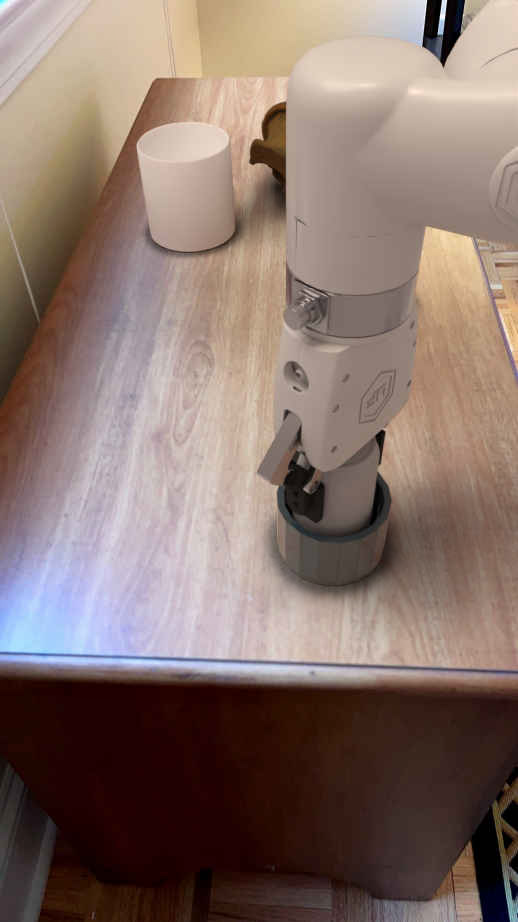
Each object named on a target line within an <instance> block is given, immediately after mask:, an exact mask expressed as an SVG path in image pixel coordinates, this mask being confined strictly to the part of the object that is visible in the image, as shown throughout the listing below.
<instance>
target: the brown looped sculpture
mask: <svg viewBox="0 0 518 922" xmlns="http://www.w3.org/2000/svg"><path fill="white" fill-rule="evenodd" d="M261 136H262V139H261V138H254V139H253V140H252V141H251V145H250V147H249V159H248V164H249V165H251V166H255V165H257V164H261V165H262V164H263V165H266V166H267V167H268V168H269V169H271V175H272V176H273V178H274V179H275V180H276V181H277V182H278V184H279V186H281V187H282V195H281V196H282V200H283V202H284V203H285V204H286V101H282V102H281V101H280V102H278V103H276V104H274V105H272V106H271V107H270V108H269V109H268V110H267V112H265V114H264V117H263V120H262V121H261Z"/></svg>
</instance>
